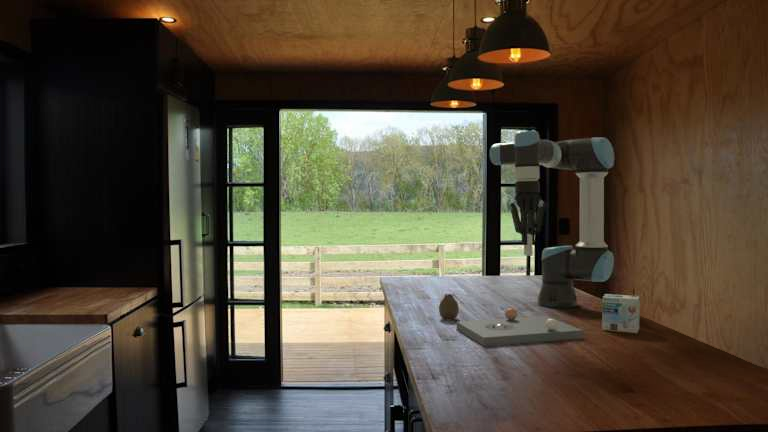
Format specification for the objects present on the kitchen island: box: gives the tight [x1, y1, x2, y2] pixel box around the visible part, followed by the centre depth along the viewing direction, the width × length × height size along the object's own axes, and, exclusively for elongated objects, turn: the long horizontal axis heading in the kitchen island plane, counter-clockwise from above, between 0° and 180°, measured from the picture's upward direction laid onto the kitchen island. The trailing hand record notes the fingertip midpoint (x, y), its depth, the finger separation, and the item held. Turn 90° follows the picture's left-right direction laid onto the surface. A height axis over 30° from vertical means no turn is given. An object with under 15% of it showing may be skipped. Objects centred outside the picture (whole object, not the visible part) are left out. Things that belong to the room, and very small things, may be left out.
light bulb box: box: [601, 293, 640, 334], centre depth 182 cm, size 11×7×11 cm, turn 62°
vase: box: [438, 293, 459, 321], centre depth 202 cm, size 7×7×9 cm
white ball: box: [545, 318, 557, 331], centre depth 172 cm, size 4×4×4 cm
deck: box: [456, 315, 584, 347], centre depth 179 cm, size 32×22×2 cm
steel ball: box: [494, 324, 505, 329], centre depth 177 cm, size 4×4×4 cm
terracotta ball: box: [504, 307, 518, 320], centre depth 187 cm, size 4×4×4 cm
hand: (528, 255), depth 181 cm, fingers closed
